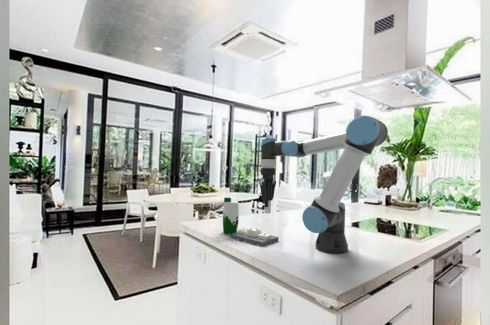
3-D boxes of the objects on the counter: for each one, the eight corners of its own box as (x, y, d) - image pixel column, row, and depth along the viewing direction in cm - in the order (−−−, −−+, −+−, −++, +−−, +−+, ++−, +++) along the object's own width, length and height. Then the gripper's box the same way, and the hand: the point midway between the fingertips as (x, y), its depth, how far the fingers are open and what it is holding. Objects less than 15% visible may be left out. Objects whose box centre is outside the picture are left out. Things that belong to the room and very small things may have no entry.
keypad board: (278, 240, 144) (278, 237, 144) (262, 246, 133) (262, 242, 133) (246, 233, 158) (246, 229, 158) (229, 237, 148) (229, 234, 148)
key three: (250, 236, 151) (250, 229, 151) (244, 238, 147) (244, 231, 147) (243, 234, 154) (243, 228, 154) (237, 236, 150) (237, 229, 150)
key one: (271, 241, 142) (271, 234, 142) (265, 243, 138) (265, 236, 138) (263, 239, 145) (263, 232, 145) (257, 241, 141) (257, 234, 141)
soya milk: (223, 230, 164) (224, 196, 164) (238, 230, 164) (239, 197, 164) (221, 234, 155) (222, 198, 155) (237, 234, 155) (238, 199, 155)
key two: (260, 236, 146) (260, 229, 146) (254, 237, 142) (254, 230, 142) (253, 234, 149) (253, 227, 149) (247, 236, 146) (247, 229, 146)
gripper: (269, 167, 150) (268, 210, 149) (254, 167, 140) (254, 213, 139) (280, 167, 145) (280, 212, 144) (266, 167, 135) (266, 215, 134)
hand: (267, 213), depth 142 cm, fingers closed
